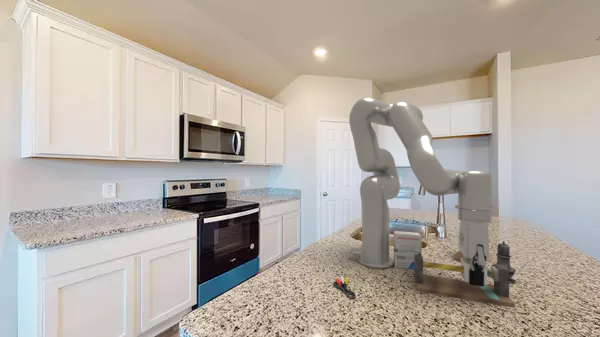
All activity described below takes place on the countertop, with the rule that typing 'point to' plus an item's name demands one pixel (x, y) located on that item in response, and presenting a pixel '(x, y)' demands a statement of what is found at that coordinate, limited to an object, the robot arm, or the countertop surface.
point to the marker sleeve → (467, 266)
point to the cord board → (463, 283)
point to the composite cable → (344, 287)
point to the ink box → (406, 248)
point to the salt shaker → (505, 259)
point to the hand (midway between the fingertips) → (473, 280)
